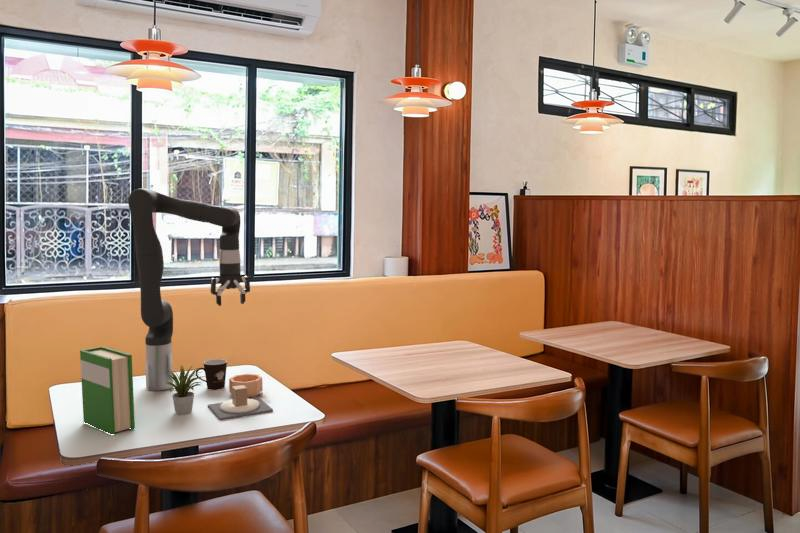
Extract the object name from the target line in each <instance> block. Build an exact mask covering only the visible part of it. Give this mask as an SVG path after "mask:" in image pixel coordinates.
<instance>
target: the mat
mask: <svg viewBox="0 0 800 533" xmlns="http://www.w3.org/2000/svg"><path fill="white" fill-rule="evenodd" d="M247 399H254V400H257V401H259V408H257V409H256V410H253V411H250V412H246V413H227V412H223V411H222V410H221V409H220V405H221V404H222V403H223V402H218V403H210V404H207V408H208V409H209V410H210V411H211V412H212V413H213V414H214V416H215V417H216V418H217V420H219V421H220V420H221V421H226V420H230V419H238V418H244V416H245V417H250V415H251V416H256V415H262V413H263V414H266V413H273V412H274V409H273V408H272V407H271V406H270V405H268V404H267V403H266V402H265V401H264V400H263V399H262V398H260V397H259V396H255V397H251V398H247Z"/></svg>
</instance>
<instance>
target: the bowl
mask: <svg viewBox="0 0 800 533" xmlns="http://www.w3.org/2000/svg"><path fill="white" fill-rule="evenodd" d="M228 383H229V384H228V385H229V390H228V391H229V393H231V395H232V387H233V386H240V385H244V386H245V387H247V399H248V398H250V397H251V398H254V397H259V395H261V392H263V391H264V390H263V377H262V376H261V375H260V374H255V373H254V374H253V373H243V374H236V375H234V376H231V377H230V378H228Z"/></svg>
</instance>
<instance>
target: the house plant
mask: <svg viewBox="0 0 800 533" xmlns="http://www.w3.org/2000/svg"><path fill="white" fill-rule="evenodd" d="M179 367H180V369H179V371H180V372H179V374H178V373H177V372H174V371H173V370H172V371H170V372H171V373H172V376H170V375H171V374H170V375H166V376H168V377H169V376H170V377H171V378H172V379H173V380H172V379H171V378H170V377H169V378H170V379H171V380H172V381H173V383H172V382H167V383H165V384H169V385H172V386H173V387H170V389H168V392H169V393H171V392H173V391H175V393H173V394H172V396H171V397H172V402H173V405H174V411H175V414H176V415H178V416H185V415H190V414H191V413H192V412H193V408H194V407H193V405H194V398H195V392H194V387H197V386H201V387H203V382H201V381H200V382H199V381H196V380H200V379H199V378H201V379H202V378H206V376H205V375H204V376H201V374H200V373H202V371H200V372H199V371H198V372H197V373H196V370H198V369H199V368H200V367H197V368H195V369H194V370H193V371H192V372H191V373H190V371H191V370H192V368H193V365H191V366H190V367H189V368H188V370H187V372H186V371H185V369H184V365H180V366H179ZM189 373H190V374H189ZM168 374H169V373H168ZM196 374H197V375H198V376H199V377H197V375H196ZM192 382H193V383H192Z"/></svg>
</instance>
